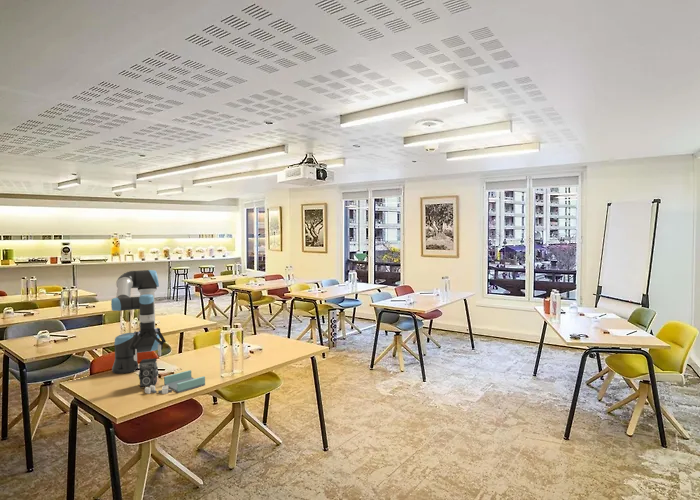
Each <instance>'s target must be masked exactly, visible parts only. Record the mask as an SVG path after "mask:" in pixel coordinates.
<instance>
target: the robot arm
mask: <svg viewBox="0 0 700 500" xmlns="http://www.w3.org/2000/svg"><path fill="white" fill-rule="evenodd" d="M159 283H160V282H159V277H158V273H157V270H154V269H144V270H129V271H127V272H126V271H125V272H124V273H123V274H121V275H120V276H119V277H118V278H117V280H116V283H115V285H116V289H117V290H116V297H114V298H113V297H112V298H111V302H110V305H111V306H110V307H111V311H113V312H114V311H115V312H116V311H117V312H121V311H131V310H139V331H136V330H134V332H126V333H122V334H119V335H117V336H115V338H114V344H113V345H114V362H113V364H112V367H111V371H112V373H113V374H128V373H133V372H135V371H137V370H138V369H139V363H138V353H147V352H154V351H157V355H158V357H161V356H162V350H163V347H164V346H163V345H164V344H165V343H166V342H167V341H166V339H165V337H164V336H163V334H162V332H161V328H159V327H156V311H155V310H156V309H155V306H156V305H155V292H156V291H157V290H158V289H157V288H159V287H160V285H159ZM132 289H137V291H138V292H139V293H140V295H139V296H131V294H132V293H131V292H132ZM137 368H138V369H137ZM136 369H137V370H136ZM134 370H135V371H134ZM132 371H133V372H132Z"/></svg>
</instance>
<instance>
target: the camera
mask: <svg viewBox="0 0 700 500" xmlns="http://www.w3.org/2000/svg"><path fill="white" fill-rule="evenodd" d="M158 368H159V367H158V360H157V358H144V359H141V361H140V362H139V363H138V369H139V372H138V379H139V388H142V389H143V388H146V387H149V388H150V386H151V385H153V386H155V387H156V384H157V382H158V376H159V370H158Z"/></svg>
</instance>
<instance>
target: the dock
mask: <svg viewBox="0 0 700 500" xmlns="http://www.w3.org/2000/svg"><path fill="white" fill-rule="evenodd" d="M163 383H164V384H163V386H168V388H169V389H172V391H174V392H176V393H177V394H180V393H184V392H187V391H190V390H194V389H197V388H201V387H204V386H206V377H205V376H200V377H195V378H194V377H192V369H190V370H185V371H181V372H178V373H173V374H169V375H166V376H164V377H163Z"/></svg>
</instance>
